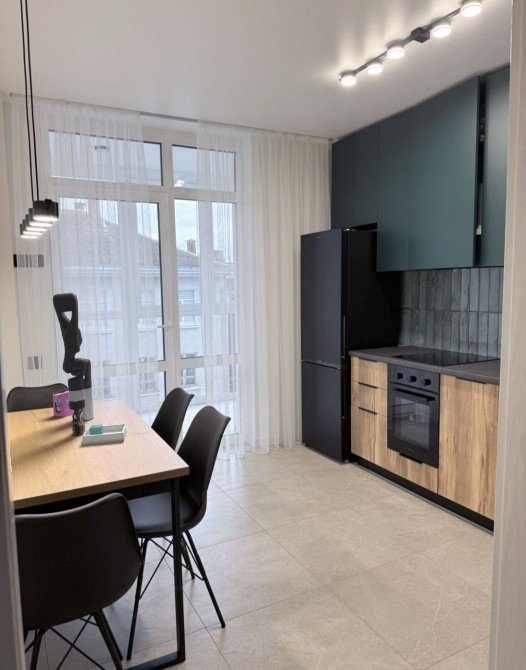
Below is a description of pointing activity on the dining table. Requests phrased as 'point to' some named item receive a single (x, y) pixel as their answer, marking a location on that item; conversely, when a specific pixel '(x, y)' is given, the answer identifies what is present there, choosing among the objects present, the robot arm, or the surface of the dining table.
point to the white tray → (106, 434)
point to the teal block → (96, 429)
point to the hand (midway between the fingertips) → (79, 432)
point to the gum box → (61, 404)
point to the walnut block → (82, 428)
